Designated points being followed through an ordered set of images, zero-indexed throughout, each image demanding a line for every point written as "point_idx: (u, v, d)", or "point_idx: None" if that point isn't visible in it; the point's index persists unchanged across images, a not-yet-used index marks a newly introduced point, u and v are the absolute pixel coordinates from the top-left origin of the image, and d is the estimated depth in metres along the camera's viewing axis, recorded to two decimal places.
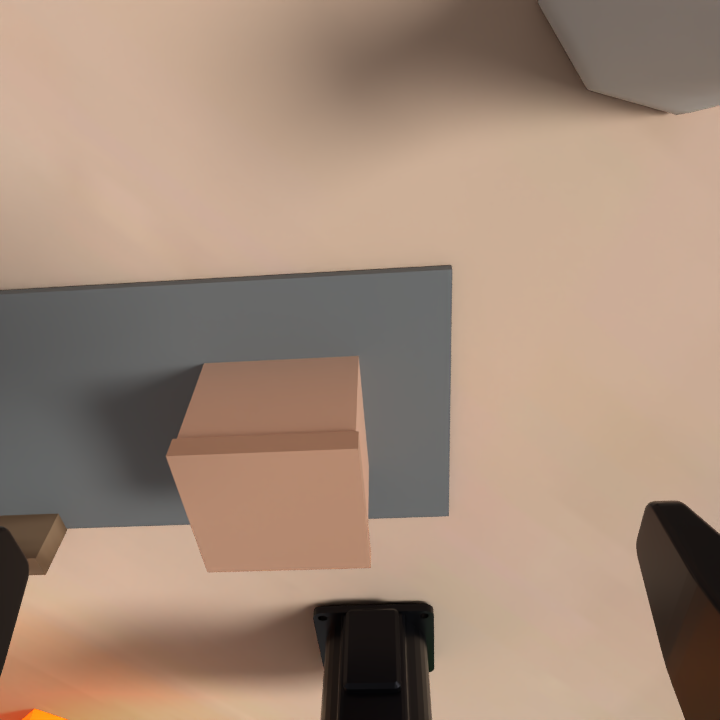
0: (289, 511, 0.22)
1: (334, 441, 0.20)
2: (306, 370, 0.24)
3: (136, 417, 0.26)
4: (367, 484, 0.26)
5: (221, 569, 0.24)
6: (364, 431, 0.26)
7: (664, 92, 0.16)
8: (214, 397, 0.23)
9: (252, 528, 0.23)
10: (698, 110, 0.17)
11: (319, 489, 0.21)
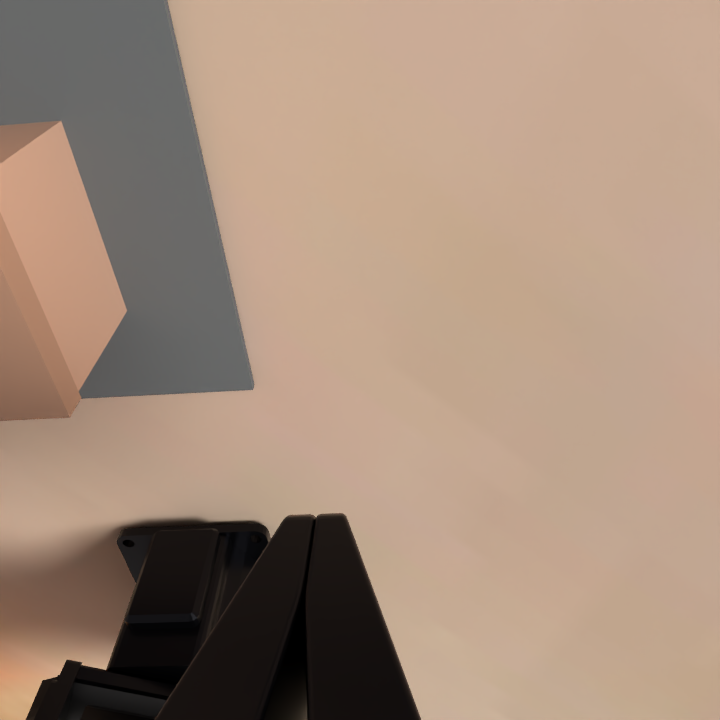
0: None
1: None
2: None
3: None
4: (102, 321, 0.19)
5: None
6: (93, 244, 0.19)
7: None
8: None
9: None
10: None
11: None
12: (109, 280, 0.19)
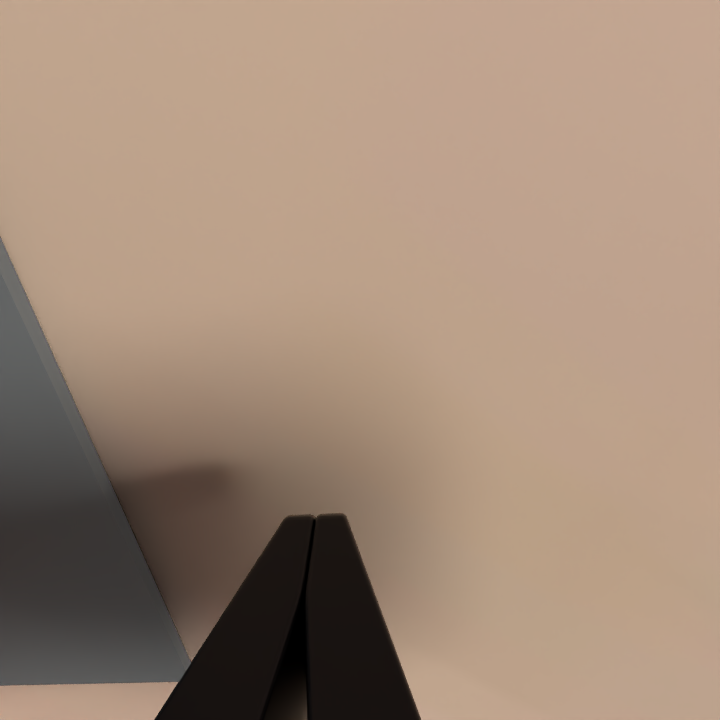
0: None
1: None
2: None
3: None
4: None
5: None
6: None
7: None
8: None
9: None
10: None
11: None
12: None
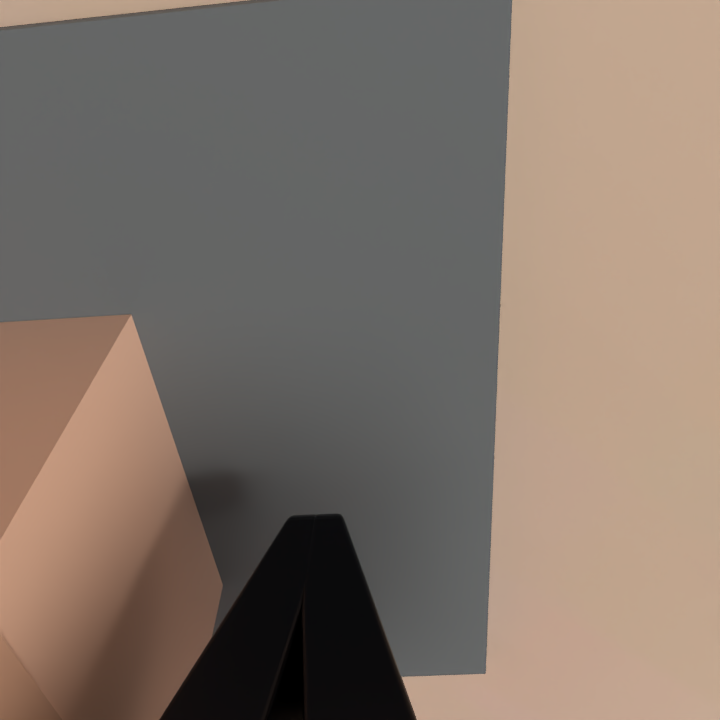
0: None
1: None
2: None
3: None
4: (194, 650, 0.10)
5: None
6: (181, 517, 0.10)
7: None
8: None
9: None
10: None
11: None
12: (201, 559, 0.11)
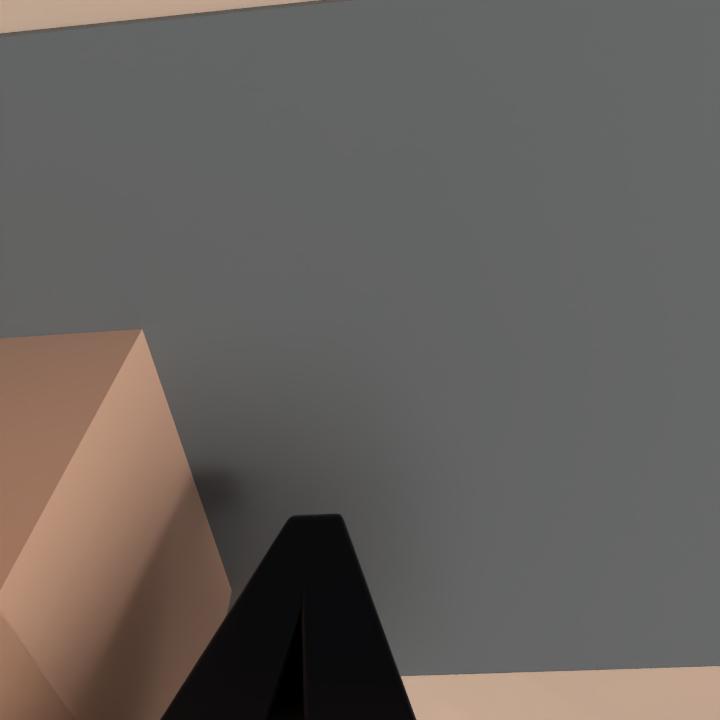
0: None
1: None
2: None
3: (321, 449, 0.10)
4: None
5: None
6: (191, 525, 0.10)
7: None
8: None
9: None
10: None
11: None
12: (211, 565, 0.11)
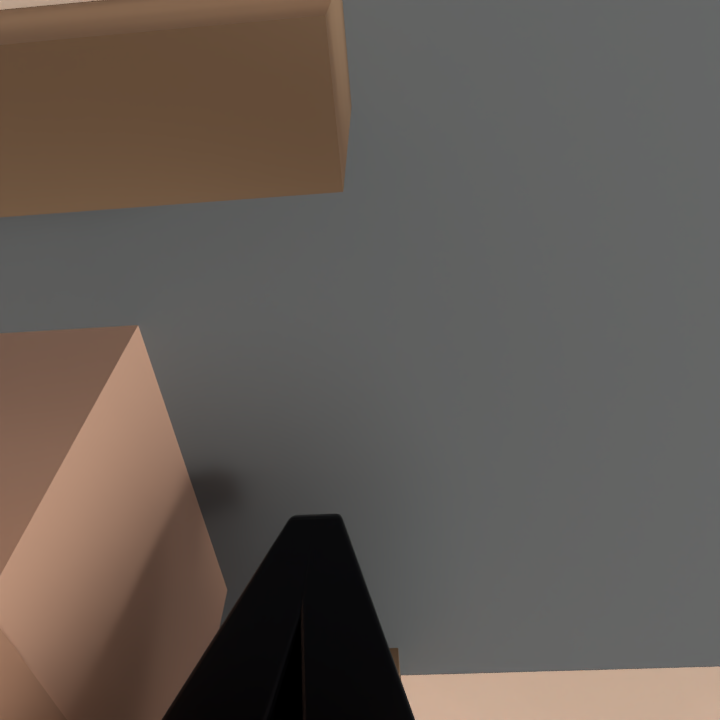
0: None
1: None
2: None
3: None
4: (200, 655, 0.10)
5: None
6: (186, 523, 0.10)
7: None
8: None
9: None
10: None
11: None
12: (206, 564, 0.11)
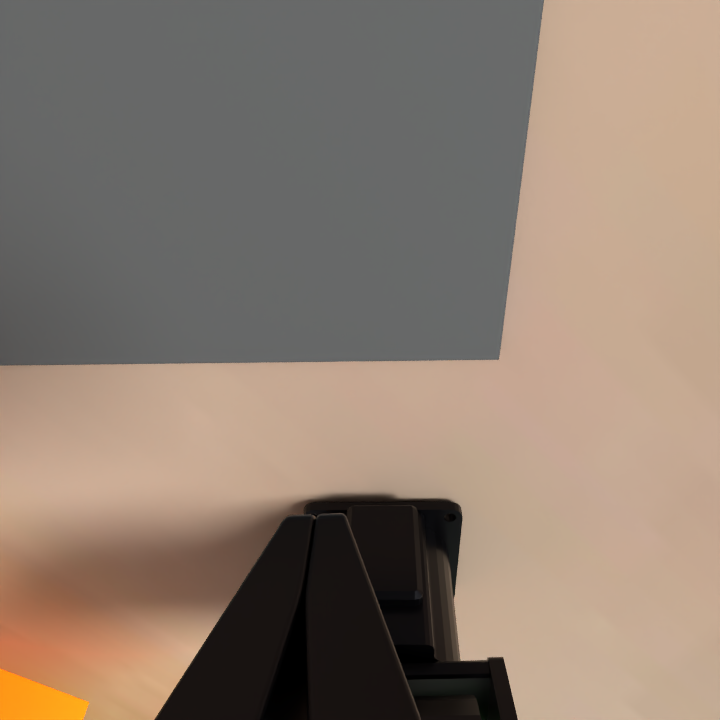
0: None
1: None
2: None
3: (59, 167, 0.18)
4: None
5: None
6: None
7: None
8: None
9: None
10: None
11: None
12: None
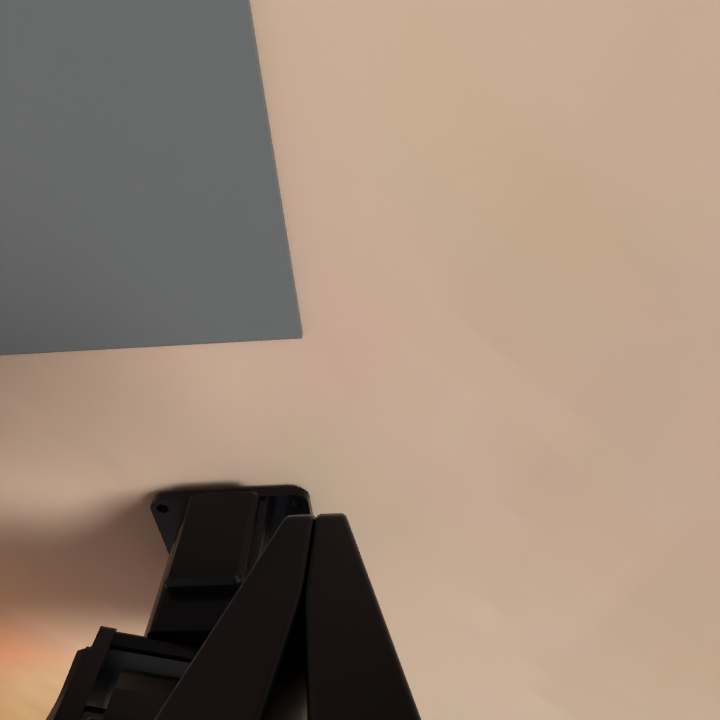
0: None
1: None
2: None
3: None
4: None
5: None
6: None
7: None
8: None
9: None
10: None
11: None
12: None
